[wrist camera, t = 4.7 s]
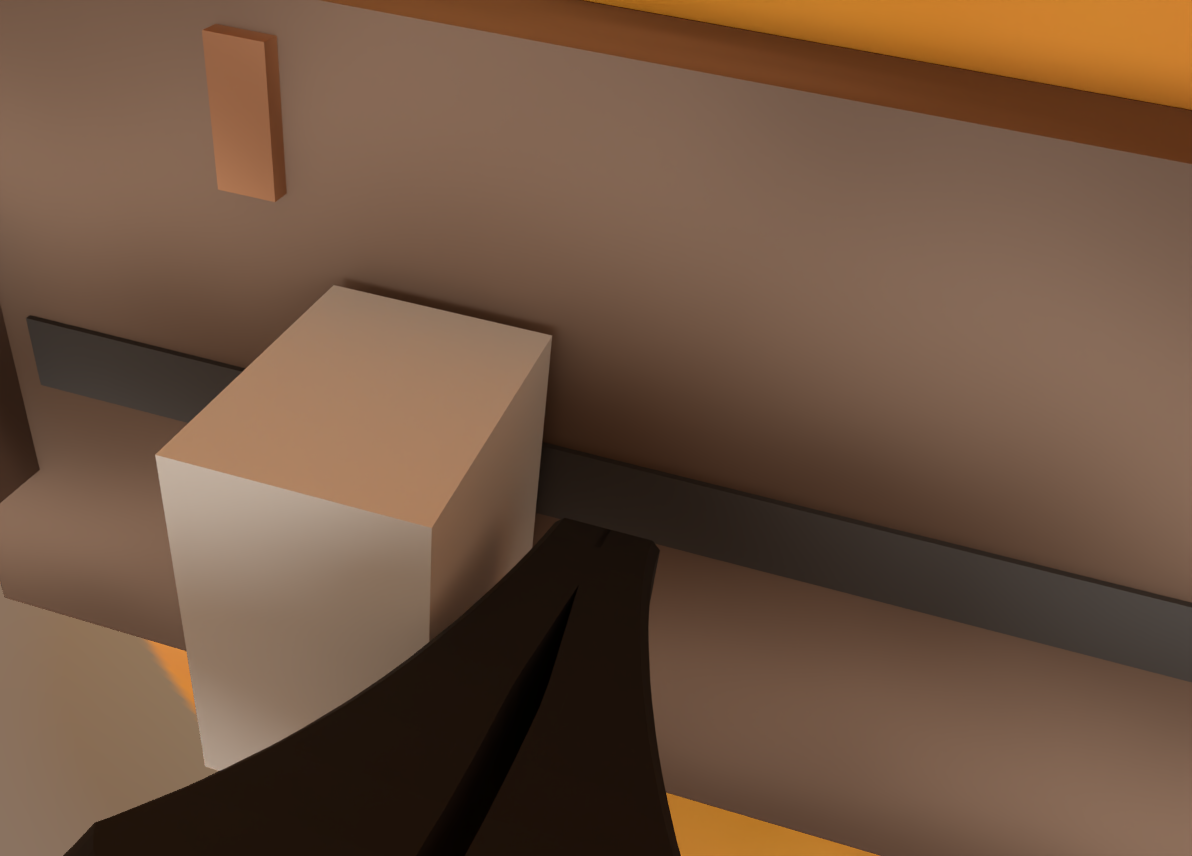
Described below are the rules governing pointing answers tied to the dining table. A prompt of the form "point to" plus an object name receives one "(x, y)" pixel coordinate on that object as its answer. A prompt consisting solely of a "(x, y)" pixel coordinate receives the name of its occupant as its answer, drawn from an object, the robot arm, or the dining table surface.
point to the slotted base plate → (669, 366)
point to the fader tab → (347, 506)
